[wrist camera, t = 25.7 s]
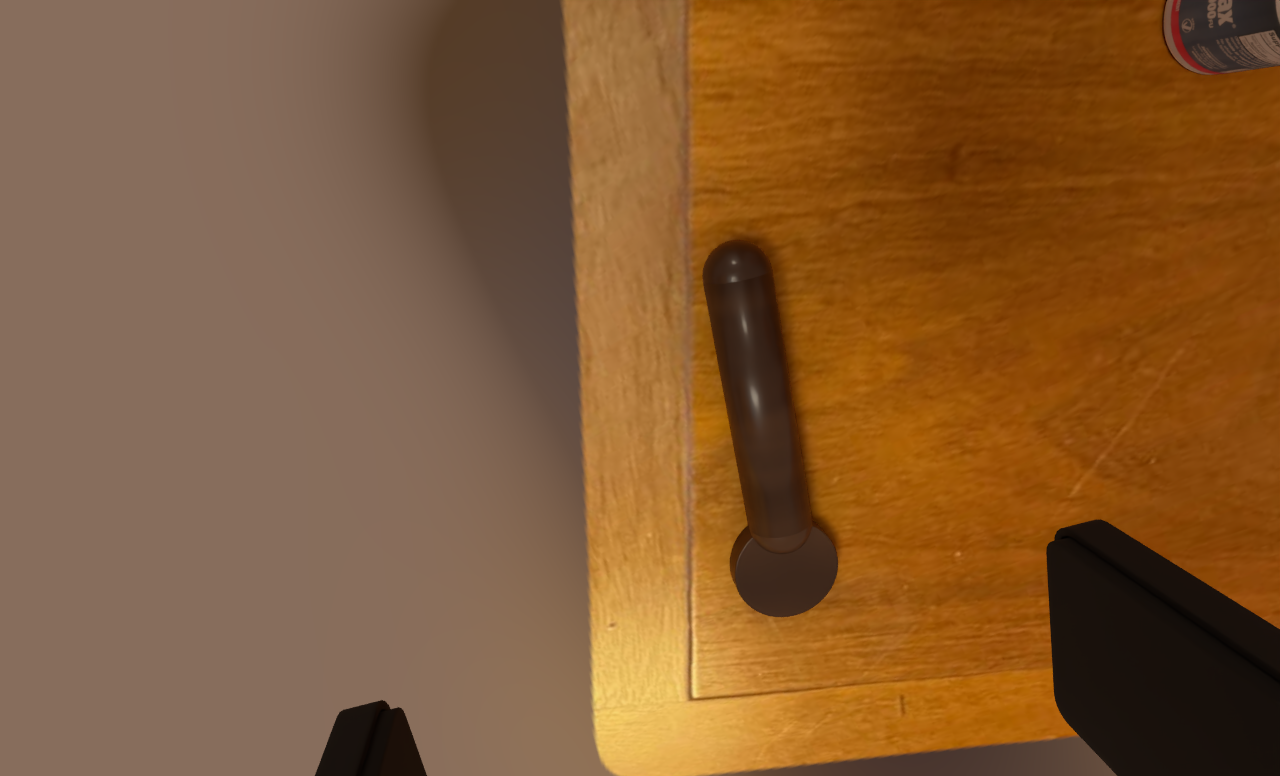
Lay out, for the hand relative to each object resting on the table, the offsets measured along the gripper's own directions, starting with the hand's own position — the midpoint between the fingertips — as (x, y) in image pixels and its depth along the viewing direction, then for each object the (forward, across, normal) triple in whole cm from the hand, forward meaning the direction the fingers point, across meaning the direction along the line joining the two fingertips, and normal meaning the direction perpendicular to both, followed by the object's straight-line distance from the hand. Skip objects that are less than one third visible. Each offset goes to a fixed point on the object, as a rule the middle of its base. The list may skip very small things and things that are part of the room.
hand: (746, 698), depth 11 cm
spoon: (+25, -6, +6) cm, 27 cm away
